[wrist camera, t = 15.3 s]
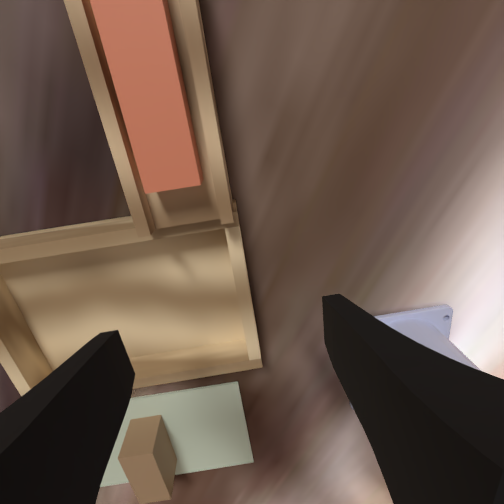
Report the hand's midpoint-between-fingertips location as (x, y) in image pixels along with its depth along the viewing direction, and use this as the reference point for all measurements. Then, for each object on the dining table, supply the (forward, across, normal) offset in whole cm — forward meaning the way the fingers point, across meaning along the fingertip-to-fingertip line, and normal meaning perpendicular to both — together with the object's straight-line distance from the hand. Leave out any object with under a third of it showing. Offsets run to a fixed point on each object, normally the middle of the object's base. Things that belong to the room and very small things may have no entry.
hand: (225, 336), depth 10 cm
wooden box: (+10, +7, +3) cm, 12 cm away
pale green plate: (+11, +9, +18) cm, 22 cm away
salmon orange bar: (+6, +1, -10) cm, 11 cm away
